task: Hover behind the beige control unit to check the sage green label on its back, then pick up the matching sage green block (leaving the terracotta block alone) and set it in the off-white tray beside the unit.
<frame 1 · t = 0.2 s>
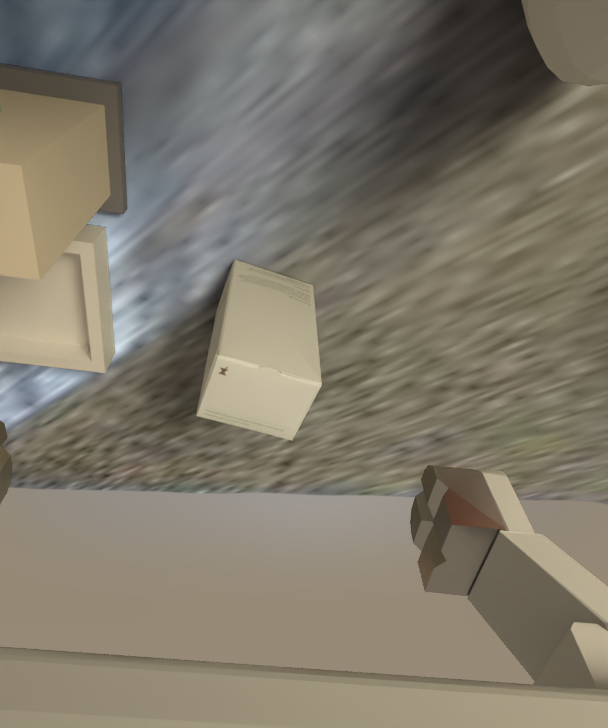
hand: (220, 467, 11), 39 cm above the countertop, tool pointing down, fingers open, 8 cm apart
parts tray: (36, 285, 52), on the countertop
control unit: (10, 132, 43), on the countertop
skincare box: (266, 295, 53), on the countertop
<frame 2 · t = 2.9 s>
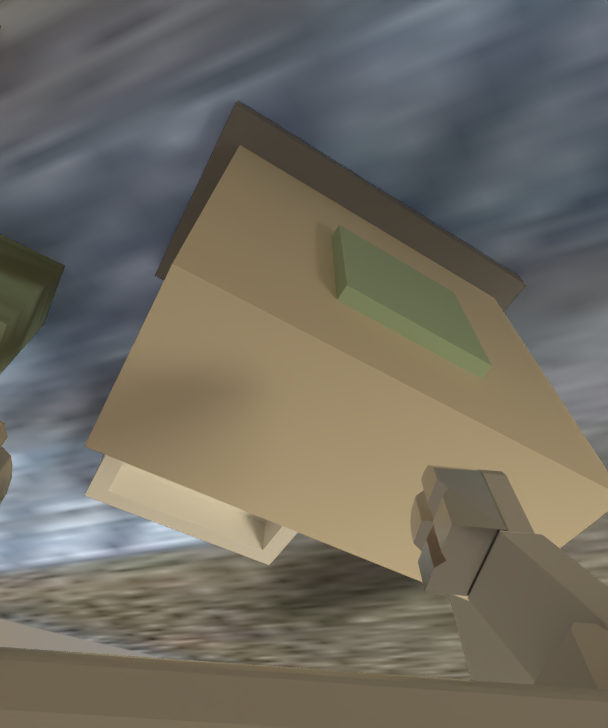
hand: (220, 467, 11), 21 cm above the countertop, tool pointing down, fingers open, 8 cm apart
parts tray: (231, 433, 37), on the countertop
control unit: (339, 271, 31), on the countertop
skincare box: (493, 525, 42), on the countertop
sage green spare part: (15, 278, 31), on the countertop
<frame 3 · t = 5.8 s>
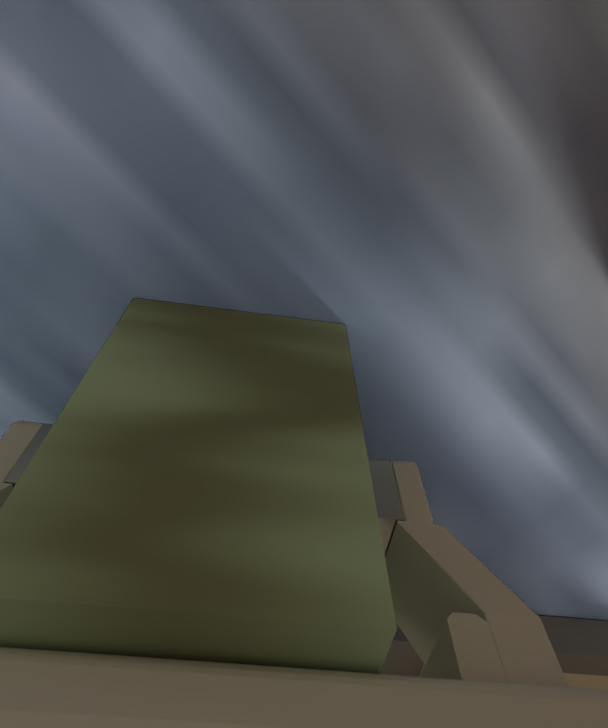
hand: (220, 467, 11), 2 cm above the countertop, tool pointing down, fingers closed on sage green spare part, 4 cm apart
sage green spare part: (233, 397, 13), on the countertop, touching gripper
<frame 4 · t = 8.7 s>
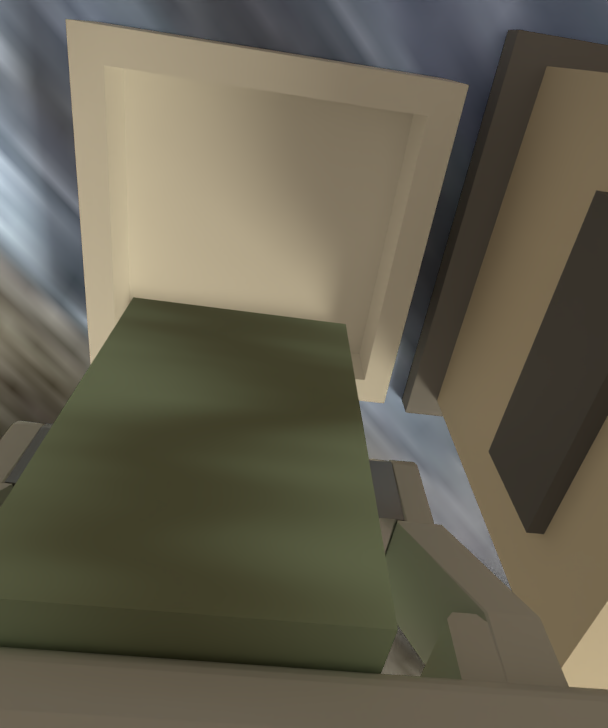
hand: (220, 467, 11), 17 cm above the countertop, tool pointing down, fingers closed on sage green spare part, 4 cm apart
parts tray: (259, 222, 25), on the countertop
control unit: (544, 261, 26), on the countertop
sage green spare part: (233, 397, 13), point 15 cm above the countertop, touching gripper
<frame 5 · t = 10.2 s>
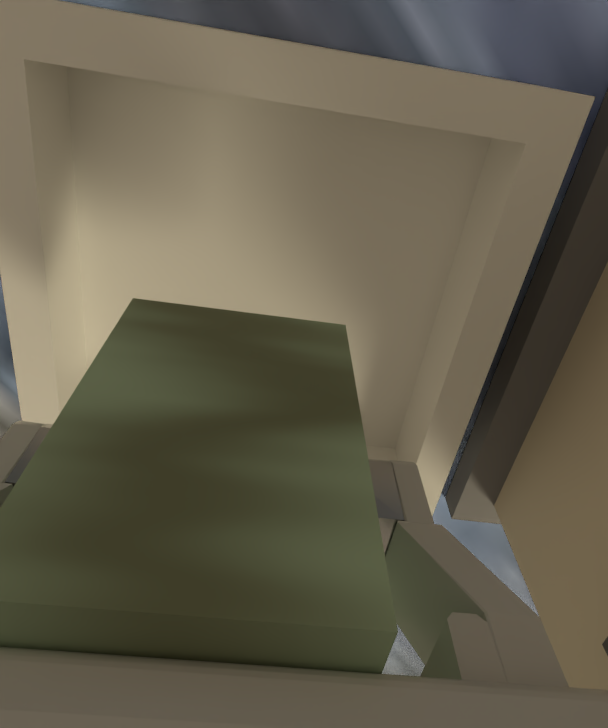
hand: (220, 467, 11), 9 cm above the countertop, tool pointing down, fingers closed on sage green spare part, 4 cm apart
parts tray: (264, 279, 18), on the countertop
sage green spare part: (232, 398, 13), point 7 cm above the countertop, touching gripper
when the fingers open (5 cm above the countertop, at t = 11.4 s): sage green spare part drops 1 cm, resting on parts tray.
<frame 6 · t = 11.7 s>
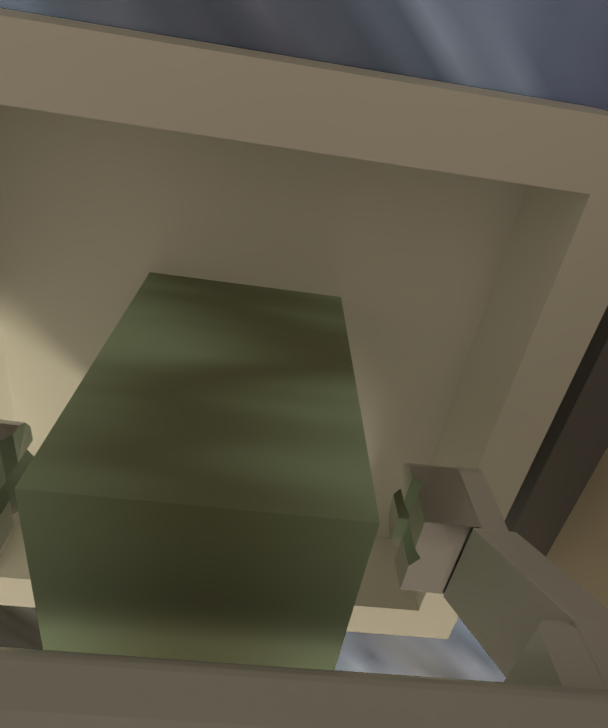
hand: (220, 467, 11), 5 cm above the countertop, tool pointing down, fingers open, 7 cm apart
parts tray: (240, 346, 15), on the countertop
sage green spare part: (238, 365, 14), point 1 cm above the countertop, touching parts tray
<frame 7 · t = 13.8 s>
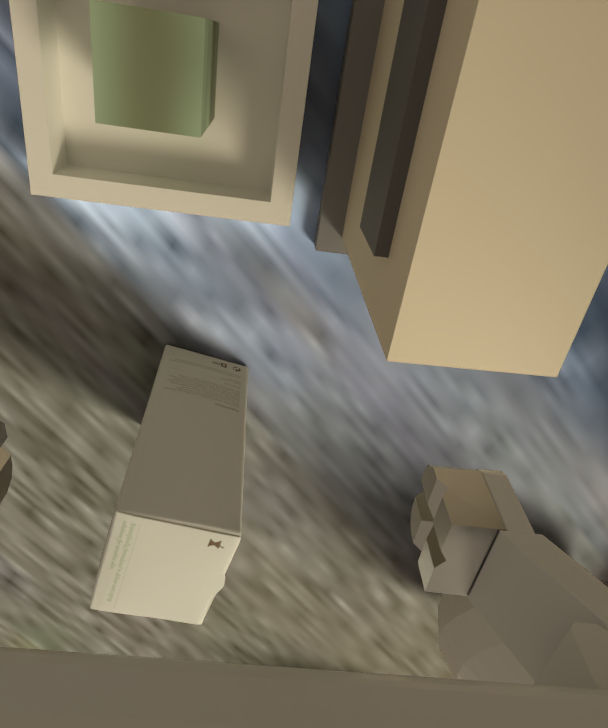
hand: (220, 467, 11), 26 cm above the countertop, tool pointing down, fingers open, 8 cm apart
soap bottle: (505, 572, 54), on the countertop
parts tray: (175, 64, 29), on the countertop
control unit: (423, 103, 31), on the countertop
skincare box: (197, 397, 41), on the countertop
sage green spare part: (173, 65, 28), point 1 cm above the countertop, touching parts tray
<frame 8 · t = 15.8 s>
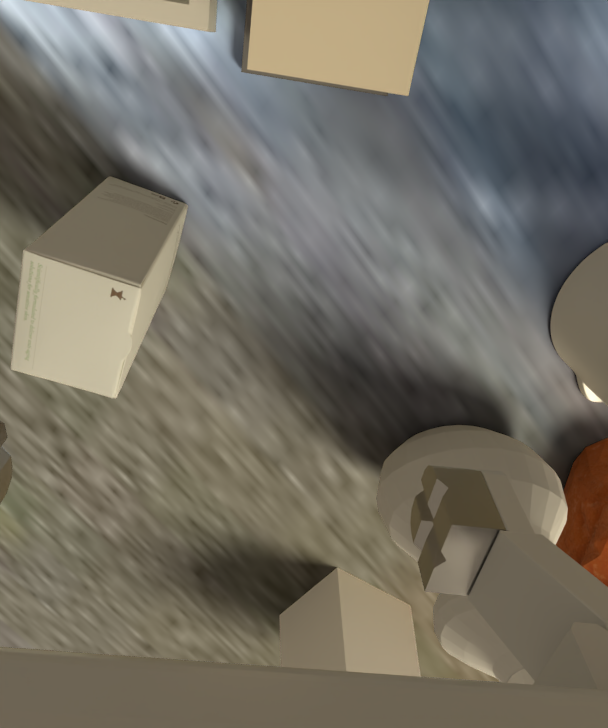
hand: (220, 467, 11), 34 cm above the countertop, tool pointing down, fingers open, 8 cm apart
soap bottle: (450, 451, 55), on the countertop
milk: (344, 608, 68), on the countertop
skincare box: (141, 238, 43), on the countertop
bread: (606, 527, 61), on the countertop
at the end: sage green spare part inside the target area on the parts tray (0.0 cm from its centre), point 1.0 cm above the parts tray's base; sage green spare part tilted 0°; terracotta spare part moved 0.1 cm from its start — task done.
